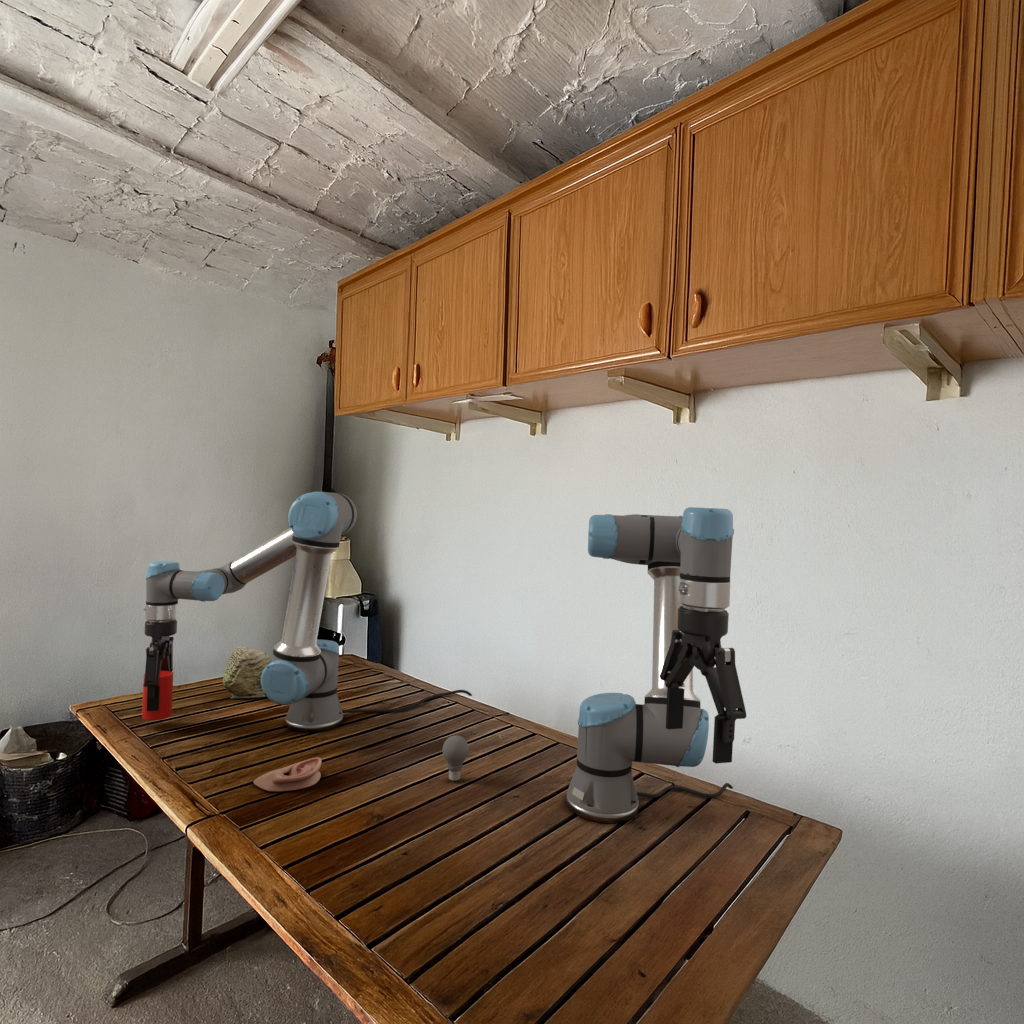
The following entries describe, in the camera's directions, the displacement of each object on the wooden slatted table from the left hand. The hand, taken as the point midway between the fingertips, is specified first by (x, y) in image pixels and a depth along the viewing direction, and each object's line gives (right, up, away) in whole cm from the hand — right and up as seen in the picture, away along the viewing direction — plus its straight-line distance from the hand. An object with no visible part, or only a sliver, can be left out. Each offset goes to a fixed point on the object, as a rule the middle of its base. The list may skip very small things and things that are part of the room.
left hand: (157, 705), depth 168 cm
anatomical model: (+45, -8, -28) cm, 53 cm away
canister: (0, -3, 0) cm, 3 cm away
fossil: (+14, -6, +30) cm, 33 cm away
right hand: (+123, +16, -70) cm, 142 cm away
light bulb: (+81, -10, -24) cm, 85 cm away
